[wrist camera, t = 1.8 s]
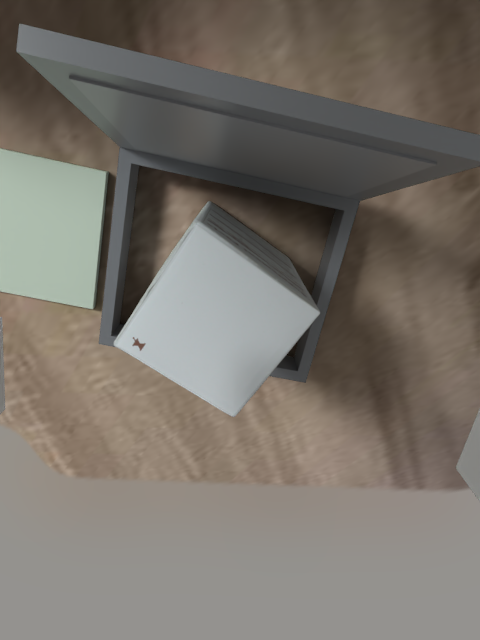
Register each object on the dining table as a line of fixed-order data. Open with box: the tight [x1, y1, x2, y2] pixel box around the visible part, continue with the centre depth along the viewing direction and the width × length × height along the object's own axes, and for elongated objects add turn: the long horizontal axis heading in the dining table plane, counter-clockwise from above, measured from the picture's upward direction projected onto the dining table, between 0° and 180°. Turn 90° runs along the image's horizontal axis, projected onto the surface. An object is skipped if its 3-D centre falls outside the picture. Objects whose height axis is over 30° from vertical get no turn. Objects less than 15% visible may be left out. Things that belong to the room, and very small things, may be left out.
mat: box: [0, 148, 109, 309], centre depth 30 cm, size 10×10×1 cm
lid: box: [16, 23, 480, 201], centre depth 20 cm, size 16×14×1 cm
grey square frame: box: [99, 147, 360, 383], centre depth 31 cm, size 16×14×2 cm
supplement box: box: [114, 201, 320, 417], centre depth 26 cm, size 7×7×13 cm
